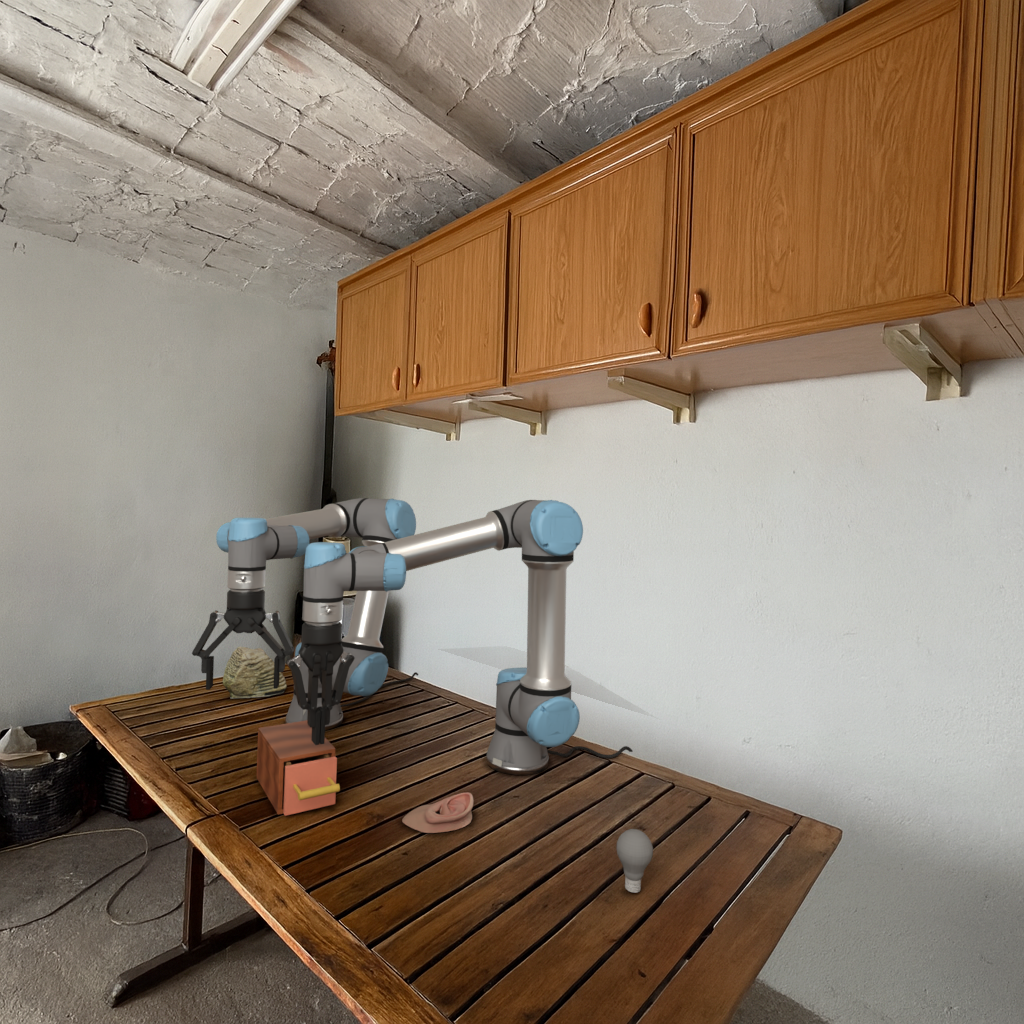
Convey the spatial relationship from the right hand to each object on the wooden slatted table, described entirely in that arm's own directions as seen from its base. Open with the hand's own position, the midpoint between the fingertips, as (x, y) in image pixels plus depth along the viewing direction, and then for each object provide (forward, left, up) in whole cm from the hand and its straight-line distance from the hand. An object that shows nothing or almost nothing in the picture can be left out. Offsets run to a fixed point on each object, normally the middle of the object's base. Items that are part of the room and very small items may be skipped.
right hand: (317, 741), depth 124 cm
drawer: (+2, -9, -15) cm, 17 cm away
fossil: (+12, -84, -16) cm, 87 cm away
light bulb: (-48, +39, -16) cm, 64 cm away
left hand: (+14, -20, +6) cm, 25 cm away
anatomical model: (-23, +7, -16) cm, 29 cm away
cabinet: (+3, -15, -16) cm, 22 cm away
